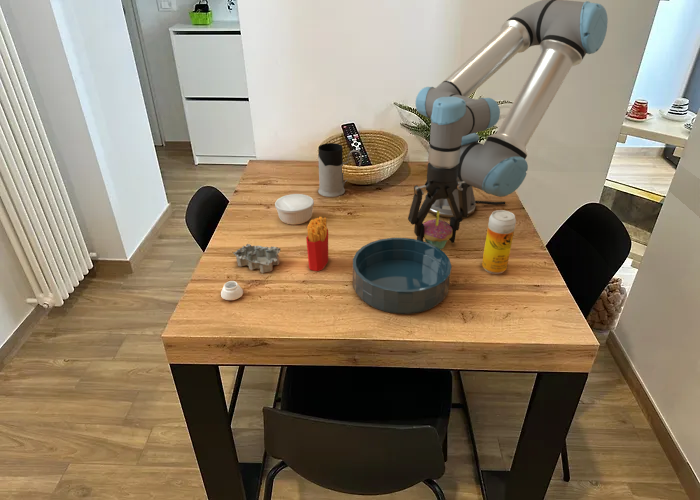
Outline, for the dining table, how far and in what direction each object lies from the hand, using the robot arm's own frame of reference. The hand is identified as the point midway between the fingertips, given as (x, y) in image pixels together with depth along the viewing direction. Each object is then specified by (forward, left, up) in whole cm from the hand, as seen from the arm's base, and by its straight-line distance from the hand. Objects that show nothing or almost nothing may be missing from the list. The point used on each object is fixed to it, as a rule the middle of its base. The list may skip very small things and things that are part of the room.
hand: (435, 242), depth 133 cm
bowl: (+15, +15, -1) cm, 21 cm away
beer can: (-10, +14, -1) cm, 17 cm away
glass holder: (+17, -40, -1) cm, 44 cm away
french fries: (+32, +1, -1) cm, 32 cm away
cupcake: (0, 0, -1) cm, 1 cm away
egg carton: (+47, -3, -1) cm, 47 cm away
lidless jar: (+54, +9, -1) cm, 55 cm away
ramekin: (+34, -25, -1) cm, 42 cm away
